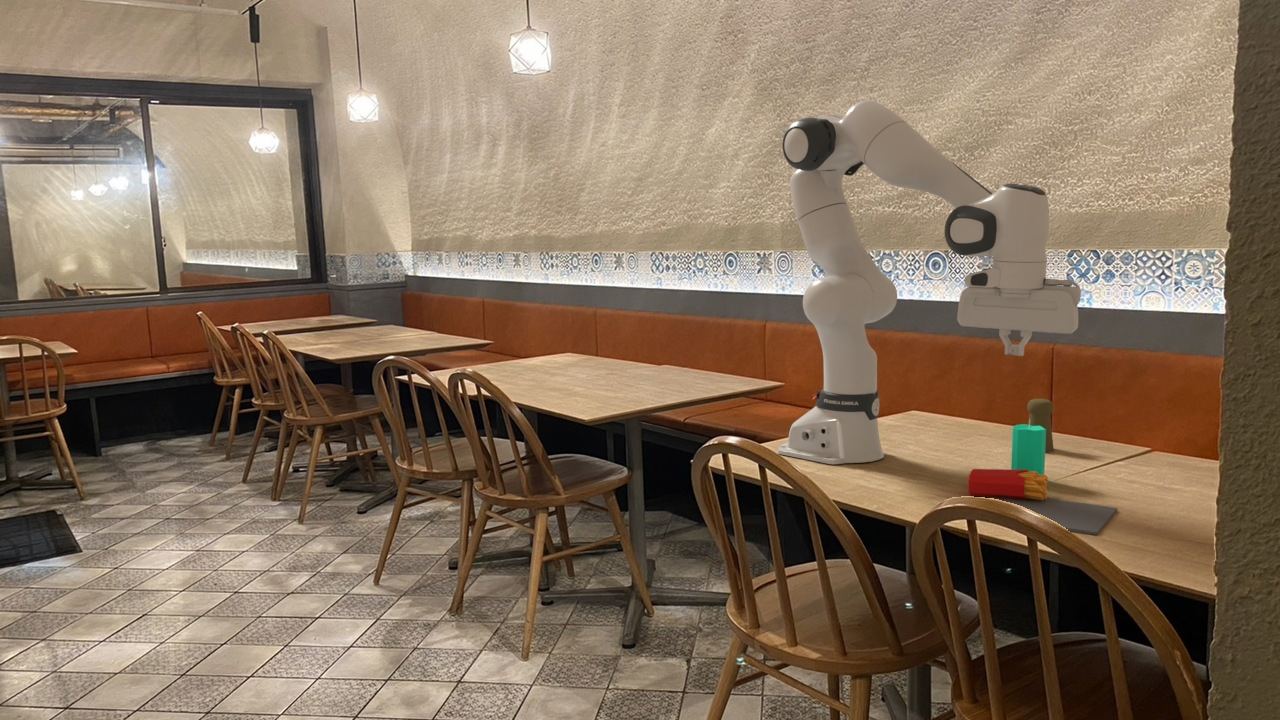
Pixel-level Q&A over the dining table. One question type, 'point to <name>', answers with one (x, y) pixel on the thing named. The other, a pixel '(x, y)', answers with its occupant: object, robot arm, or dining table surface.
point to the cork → (1042, 418)
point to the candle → (1028, 448)
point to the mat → (1069, 513)
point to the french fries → (1007, 484)
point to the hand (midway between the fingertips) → (1014, 355)
